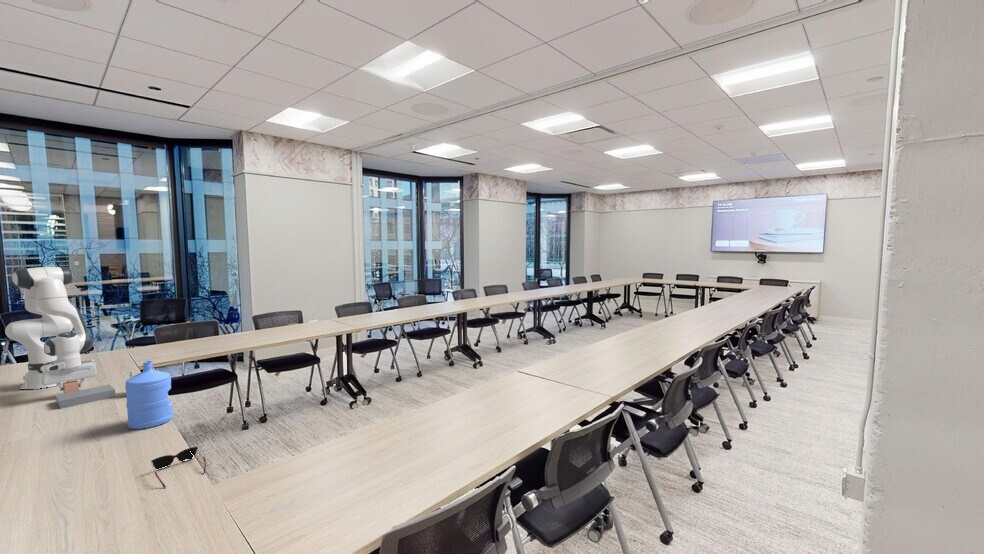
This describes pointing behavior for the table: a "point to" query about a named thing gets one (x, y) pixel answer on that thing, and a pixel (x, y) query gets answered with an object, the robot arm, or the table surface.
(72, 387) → the cube
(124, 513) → the table surface
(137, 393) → the water jug
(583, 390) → the table surface
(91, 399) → the stand
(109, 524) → the table surface
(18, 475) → the table surface
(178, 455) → the sunglasses
